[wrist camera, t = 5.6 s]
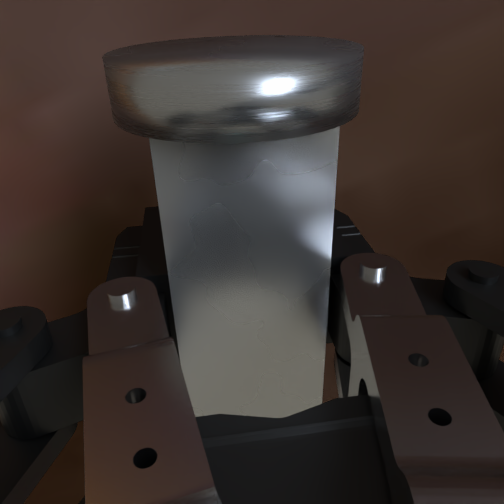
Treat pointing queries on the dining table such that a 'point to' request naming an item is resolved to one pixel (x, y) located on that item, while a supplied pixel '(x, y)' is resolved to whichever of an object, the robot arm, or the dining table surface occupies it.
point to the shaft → (244, 203)
